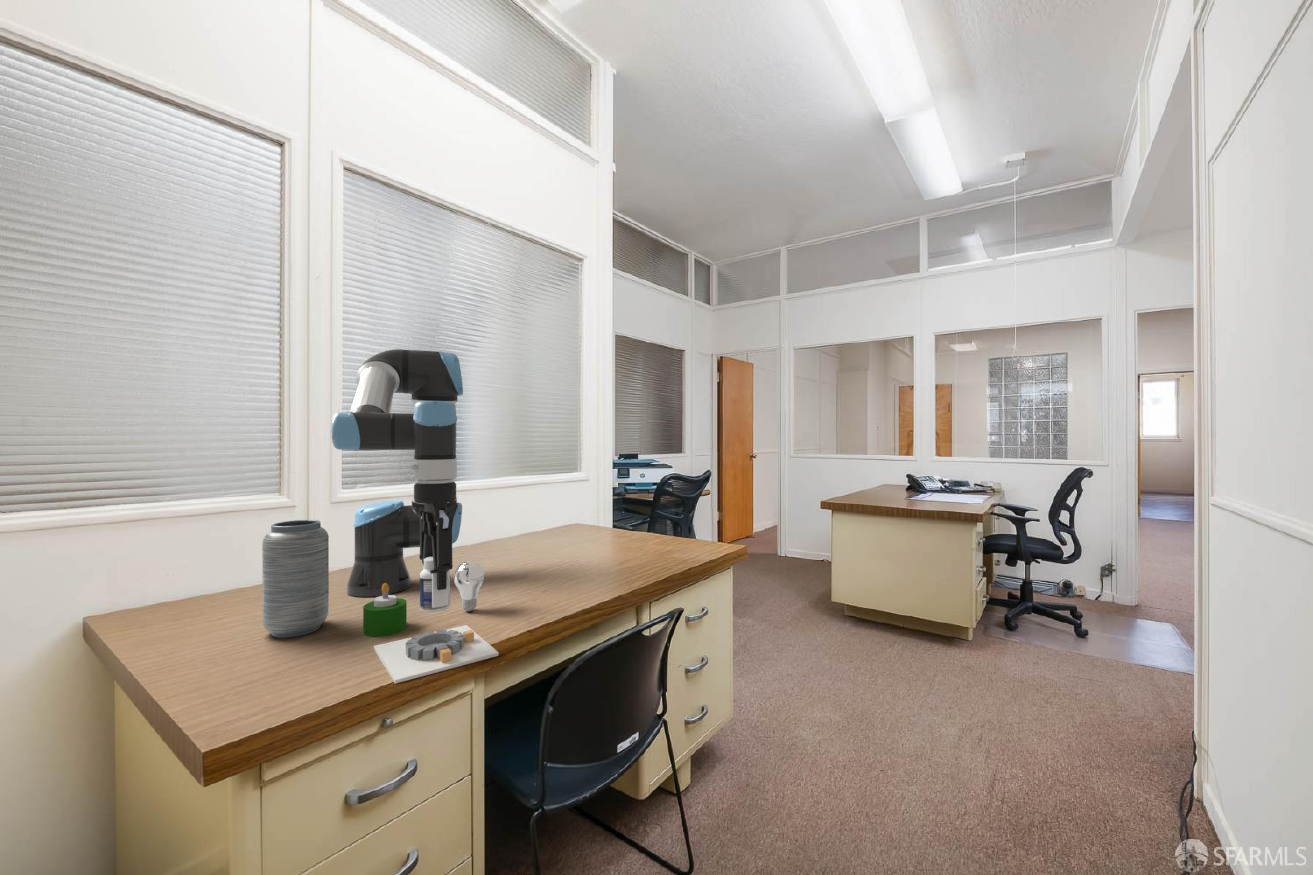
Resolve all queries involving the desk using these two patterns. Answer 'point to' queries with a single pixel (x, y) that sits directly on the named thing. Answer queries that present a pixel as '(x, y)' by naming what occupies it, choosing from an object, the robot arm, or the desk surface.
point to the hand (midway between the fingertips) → (435, 601)
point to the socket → (433, 652)
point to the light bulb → (469, 583)
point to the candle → (384, 615)
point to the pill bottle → (430, 588)
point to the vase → (295, 578)
